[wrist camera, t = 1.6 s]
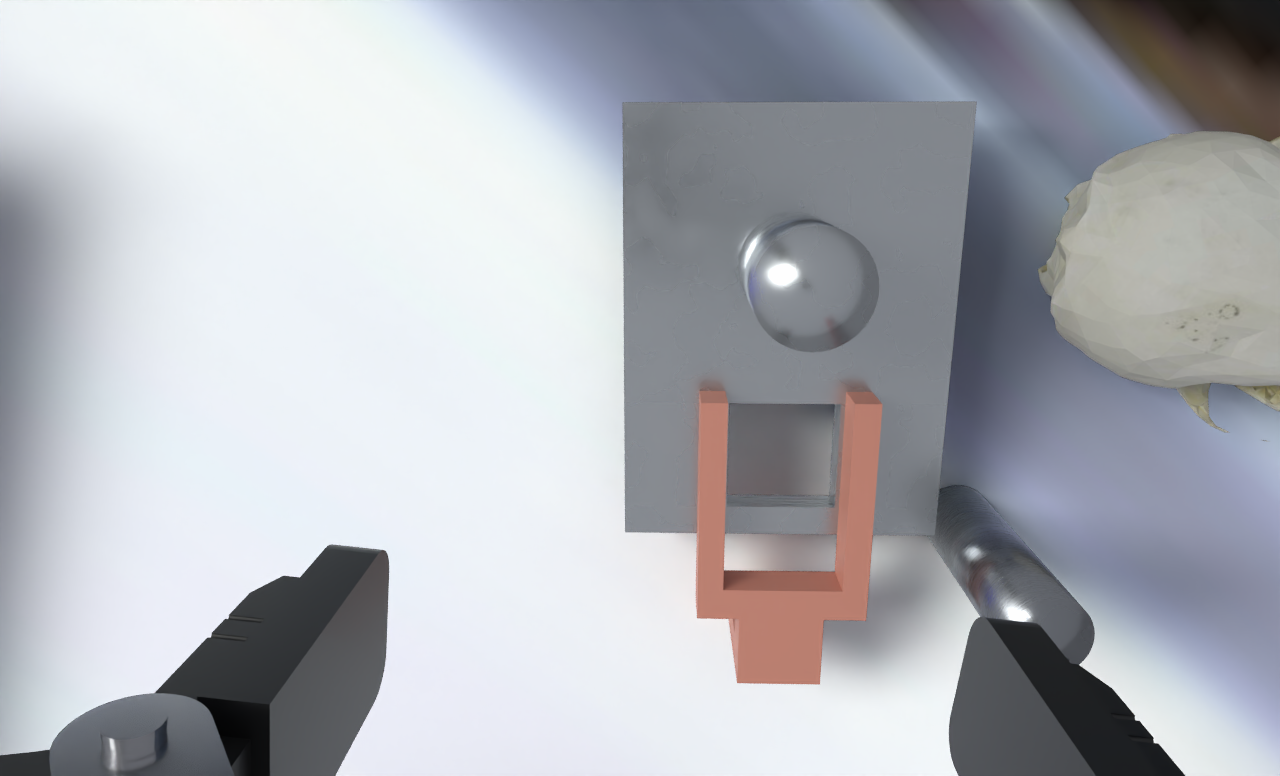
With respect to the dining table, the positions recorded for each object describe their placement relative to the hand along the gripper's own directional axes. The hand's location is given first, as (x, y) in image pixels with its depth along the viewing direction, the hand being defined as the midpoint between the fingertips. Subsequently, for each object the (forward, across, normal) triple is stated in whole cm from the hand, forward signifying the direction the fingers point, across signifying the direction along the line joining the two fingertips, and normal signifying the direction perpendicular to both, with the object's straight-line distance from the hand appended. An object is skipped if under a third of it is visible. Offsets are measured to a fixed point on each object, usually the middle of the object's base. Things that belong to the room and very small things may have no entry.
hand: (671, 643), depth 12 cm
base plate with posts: (+33, -6, +1) cm, 34 cm away
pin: (+34, -17, +11) cm, 39 cm away
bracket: (+34, -7, +11) cm, 36 cm away
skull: (+34, -29, -4) cm, 44 cm away
